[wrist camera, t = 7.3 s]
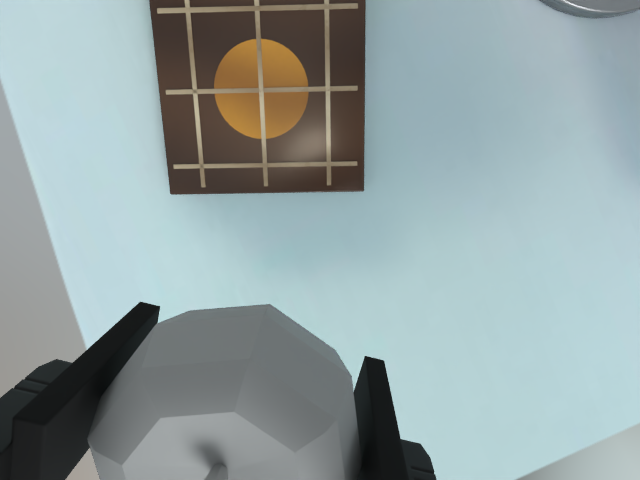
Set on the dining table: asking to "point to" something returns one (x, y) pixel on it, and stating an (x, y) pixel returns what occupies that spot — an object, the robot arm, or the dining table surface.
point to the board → (261, 94)
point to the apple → (228, 403)
